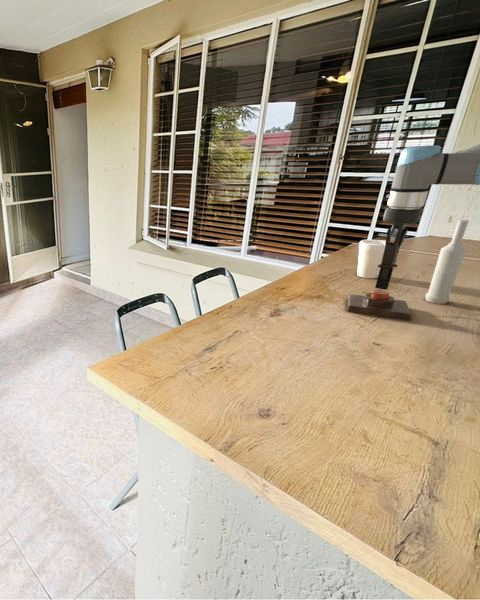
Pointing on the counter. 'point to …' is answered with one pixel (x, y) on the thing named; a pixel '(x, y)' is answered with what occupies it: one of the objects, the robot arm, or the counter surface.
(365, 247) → the foam cup
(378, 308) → the control block
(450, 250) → the bottle
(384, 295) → the press knob
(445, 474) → the counter surface
